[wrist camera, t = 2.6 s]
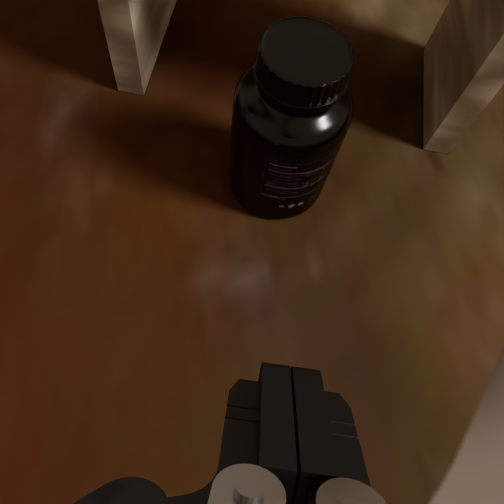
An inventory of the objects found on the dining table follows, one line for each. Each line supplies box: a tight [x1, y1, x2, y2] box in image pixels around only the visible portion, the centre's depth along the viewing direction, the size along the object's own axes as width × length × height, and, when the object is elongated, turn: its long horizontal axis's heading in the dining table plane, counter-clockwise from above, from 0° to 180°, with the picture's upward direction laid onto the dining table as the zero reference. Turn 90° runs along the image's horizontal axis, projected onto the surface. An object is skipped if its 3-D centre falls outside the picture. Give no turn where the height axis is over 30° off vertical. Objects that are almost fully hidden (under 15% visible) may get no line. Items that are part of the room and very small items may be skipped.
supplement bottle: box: [228, 16, 354, 219], centre depth 28 cm, size 7×7×12 cm
